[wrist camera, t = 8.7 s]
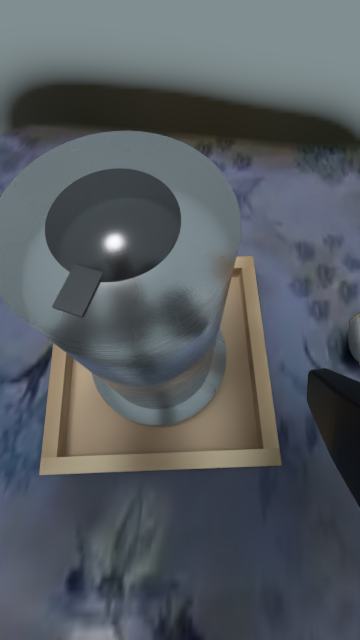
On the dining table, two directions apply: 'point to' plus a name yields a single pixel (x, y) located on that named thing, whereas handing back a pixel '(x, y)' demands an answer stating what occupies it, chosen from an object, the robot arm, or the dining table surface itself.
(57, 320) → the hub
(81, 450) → the tray
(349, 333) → the shaft stand
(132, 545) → the dining table surface
